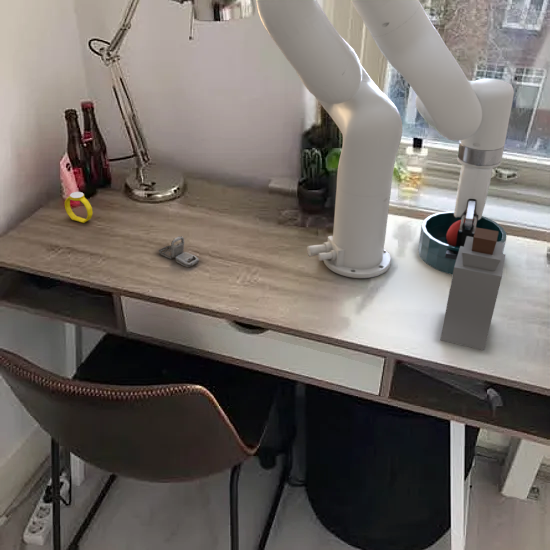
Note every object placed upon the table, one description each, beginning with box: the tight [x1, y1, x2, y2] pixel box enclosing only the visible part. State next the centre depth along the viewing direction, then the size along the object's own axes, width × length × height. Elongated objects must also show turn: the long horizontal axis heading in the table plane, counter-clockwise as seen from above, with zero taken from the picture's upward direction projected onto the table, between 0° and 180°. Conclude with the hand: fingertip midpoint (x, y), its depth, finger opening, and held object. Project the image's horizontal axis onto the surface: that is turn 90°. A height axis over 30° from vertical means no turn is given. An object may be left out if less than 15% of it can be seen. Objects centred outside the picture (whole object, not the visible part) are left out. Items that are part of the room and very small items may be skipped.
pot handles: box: [445, 249, 459, 260], centre depth 122 cm, size 19×4×1 cm, turn 160°
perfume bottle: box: [439, 227, 506, 351], centre depth 99 cm, size 7×7×18 cm
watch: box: [64, 191, 94, 224], centre depth 132 cm, size 6×3×6 cm, turn 66°
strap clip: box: [158, 235, 200, 268], centre depth 121 cm, size 8×3×4 cm, turn 50°
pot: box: [417, 210, 508, 276], centre depth 123 cm, size 15×15×6 cm
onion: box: [446, 219, 473, 246], centre depth 122 cm, size 6×6×8 cm
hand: (466, 238), depth 123 cm, fingers open, 9 cm apart
